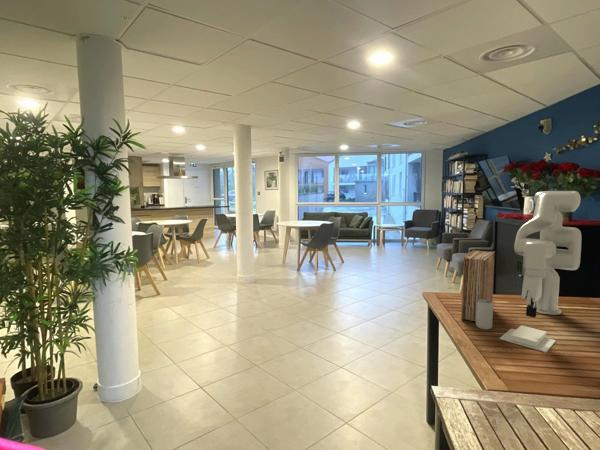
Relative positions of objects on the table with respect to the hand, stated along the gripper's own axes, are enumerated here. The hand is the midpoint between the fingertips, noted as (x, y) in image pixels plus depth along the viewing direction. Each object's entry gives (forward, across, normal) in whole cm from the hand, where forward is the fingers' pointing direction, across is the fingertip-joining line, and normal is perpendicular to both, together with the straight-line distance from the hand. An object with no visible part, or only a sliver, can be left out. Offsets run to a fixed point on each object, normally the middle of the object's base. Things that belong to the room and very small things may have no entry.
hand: (531, 316), depth 140 cm
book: (+9, -12, -25) cm, 30 cm away
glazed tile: (+8, -5, 0) cm, 9 cm away
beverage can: (+9, +2, -17) cm, 19 cm away
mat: (+9, +3, 0) cm, 10 cm away
